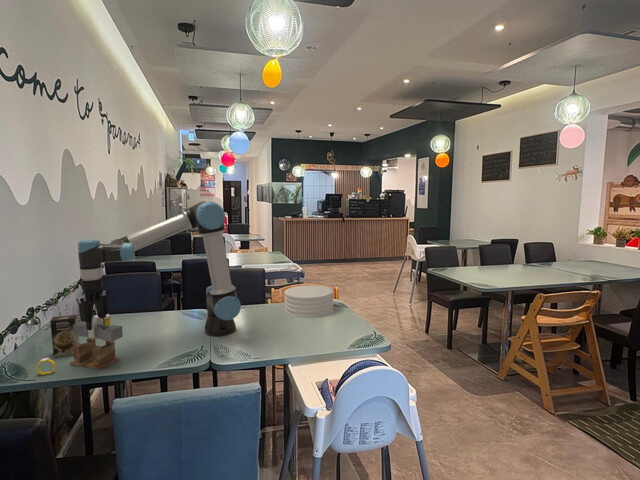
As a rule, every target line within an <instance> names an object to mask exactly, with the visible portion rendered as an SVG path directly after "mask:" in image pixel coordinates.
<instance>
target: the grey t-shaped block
mask: <svg viewBox="0 0 640 480" xmlns="http://www.w3.org/2000/svg"><path fill="white" fill-rule="evenodd" d="M94 325H95V339H99V340H102V341H103V342H104V341H105V342H106V341H110V342H112V341H114V342H115V341H117V340H119V339H121V338H124V337H123V334H124V333H123V326H122V325H116V324H115V325H114V324H113V325H111V326H109V325H101V324H95V323H94ZM73 327H74V335H75V336H79V337H84V338H89V336H88V330H87V327H86V322H81V321H80V322H79V321H78V323H77V324H74V325H73ZM90 338H91V337H90Z"/></svg>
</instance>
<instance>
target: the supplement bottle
mask: <svg viewBox="0 0 640 480" xmlns="http://www.w3.org/2000/svg"><path fill="white" fill-rule="evenodd" d="M95 313H96V314H95V315H93V316H94V317H93V321H94V324H97V321H96V318H99V317H98V315H97V311H96V310H95ZM105 316H106V318H104V325H109V326H112V325H111V317H110V314H109V313H108V315H105Z"/></svg>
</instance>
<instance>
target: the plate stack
mask: <svg viewBox="0 0 640 480" xmlns="http://www.w3.org/2000/svg"><path fill="white" fill-rule="evenodd" d="M333 294H334V290H333V289H332V288H330V287H328V286H322V285H314V284H311V285H309V284H308V285H297V286H292V287H289V288H287V289H284V313H285V314H286V315H288V316H291V317H295V318H303V319H306V318H307V319H309V318H311V319H312V318H319V317H320V318H321V317H325V316H328V315H330V314H332V313H333V312H334V299H333V298H334V295H333Z"/></svg>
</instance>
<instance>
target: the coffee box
mask: <svg viewBox="0 0 640 480" xmlns="http://www.w3.org/2000/svg"><path fill="white" fill-rule="evenodd" d="M77 323H79V321H78V314H71V315H61V316H59V315H58V316H53V318H51V319H50V323H49V324H50V332H51V342H52V355H53V358H60V357H65V356H74V354H73V344H75V343H79V344H80V336H75V335H74V327H73V325H74V324H77Z"/></svg>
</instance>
